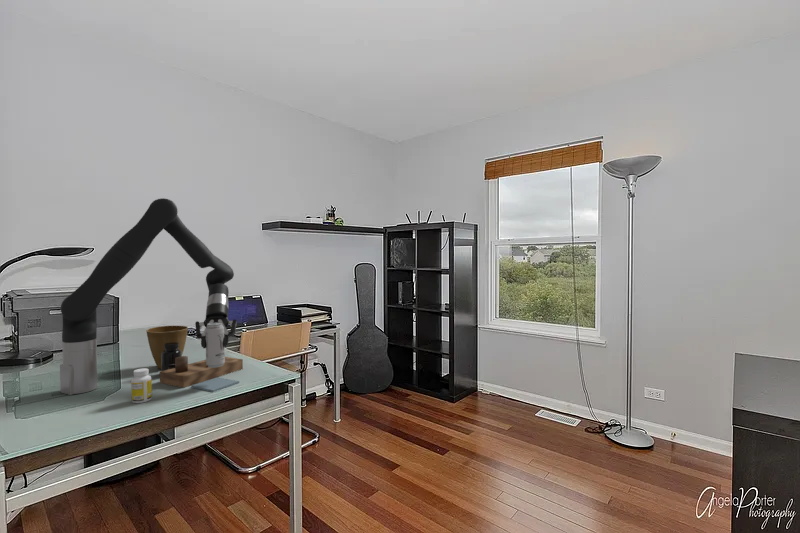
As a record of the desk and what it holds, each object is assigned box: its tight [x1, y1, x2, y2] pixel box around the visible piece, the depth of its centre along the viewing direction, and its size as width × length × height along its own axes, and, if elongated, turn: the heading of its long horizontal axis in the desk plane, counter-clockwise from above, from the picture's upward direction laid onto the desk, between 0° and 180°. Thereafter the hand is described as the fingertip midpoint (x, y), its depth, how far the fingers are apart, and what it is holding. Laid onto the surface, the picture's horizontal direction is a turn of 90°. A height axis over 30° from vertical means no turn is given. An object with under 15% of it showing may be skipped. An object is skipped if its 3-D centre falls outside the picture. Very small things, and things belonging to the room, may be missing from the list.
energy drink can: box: [204, 323, 226, 368], centre depth 144 cm, size 6×6×15 cm
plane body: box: [159, 355, 244, 389], centre depth 156 cm, size 26×13×9 cm, turn 154°
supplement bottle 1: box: [130, 367, 153, 404], centre depth 129 cm, size 5×5×10 cm
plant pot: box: [146, 325, 189, 370], centre depth 168 cm, size 15×15×16 cm
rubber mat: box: [191, 377, 240, 393], centre depth 144 cm, size 11×11×1 cm
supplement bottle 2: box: [160, 342, 181, 372], centre depth 158 cm, size 7×7×12 cm
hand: (214, 346), depth 143 cm, fingers closed on energy drink can, 6 cm apart
